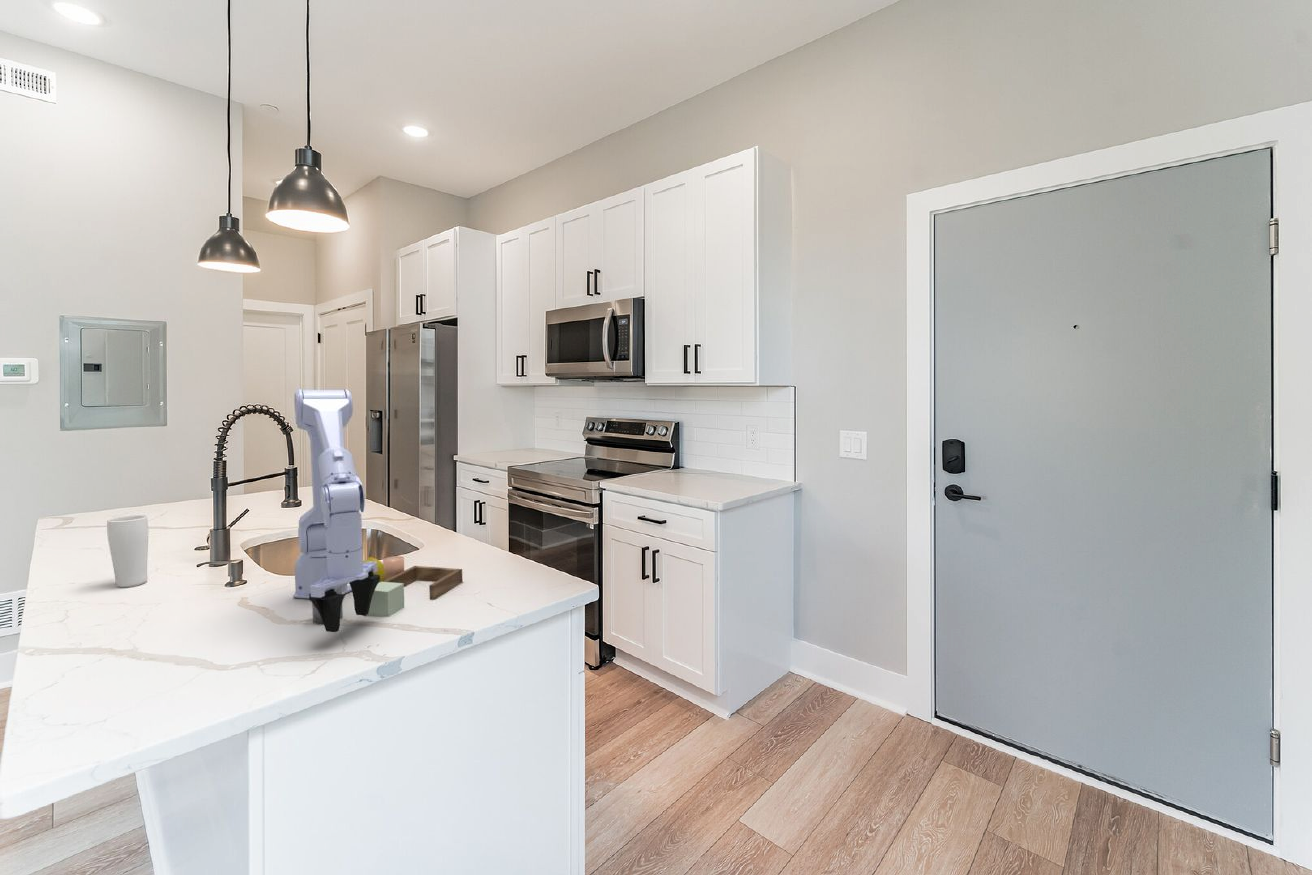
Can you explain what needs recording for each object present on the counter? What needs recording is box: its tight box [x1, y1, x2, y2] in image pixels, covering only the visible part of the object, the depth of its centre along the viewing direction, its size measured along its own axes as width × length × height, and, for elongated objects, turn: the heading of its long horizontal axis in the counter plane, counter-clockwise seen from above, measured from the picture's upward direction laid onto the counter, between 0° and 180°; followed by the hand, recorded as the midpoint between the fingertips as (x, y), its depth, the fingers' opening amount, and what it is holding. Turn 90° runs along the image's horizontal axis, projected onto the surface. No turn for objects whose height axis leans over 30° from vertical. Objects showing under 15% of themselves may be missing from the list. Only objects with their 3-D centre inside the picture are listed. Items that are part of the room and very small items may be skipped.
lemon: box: [363, 556, 386, 583], centre depth 127 cm, size 6×6×8 cm
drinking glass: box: [106, 514, 149, 588], centre depth 132 cm, size 7×7×15 cm
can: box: [311, 587, 344, 625], centre depth 113 cm, size 5×5×6 cm
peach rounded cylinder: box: [382, 555, 405, 580], centre depth 136 cm, size 4×4×5 cm
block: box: [367, 582, 405, 617], centre depth 118 cm, size 5×5×5 cm
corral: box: [383, 565, 463, 601], centre depth 131 cm, size 12×12×3 cm
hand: (347, 622), depth 107 cm, fingers open, 7 cm apart
